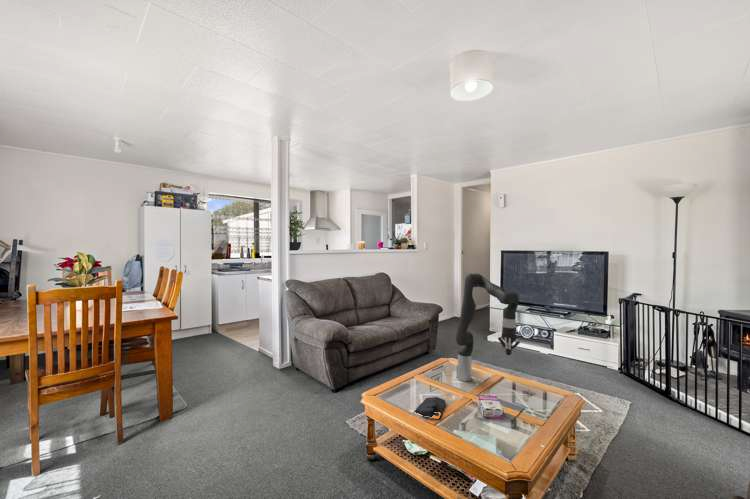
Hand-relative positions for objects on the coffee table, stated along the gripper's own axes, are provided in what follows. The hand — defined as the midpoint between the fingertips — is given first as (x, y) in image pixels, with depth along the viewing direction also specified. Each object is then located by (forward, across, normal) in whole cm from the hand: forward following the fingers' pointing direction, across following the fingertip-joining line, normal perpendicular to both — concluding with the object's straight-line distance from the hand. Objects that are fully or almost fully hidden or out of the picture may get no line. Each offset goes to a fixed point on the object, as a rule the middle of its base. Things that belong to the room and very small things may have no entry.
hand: (508, 354), depth 192 cm
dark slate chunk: (+30, -29, -37) cm, 56 cm away
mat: (+29, +2, -8) cm, 30 cm away
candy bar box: (+26, -9, -10) cm, 29 cm away
